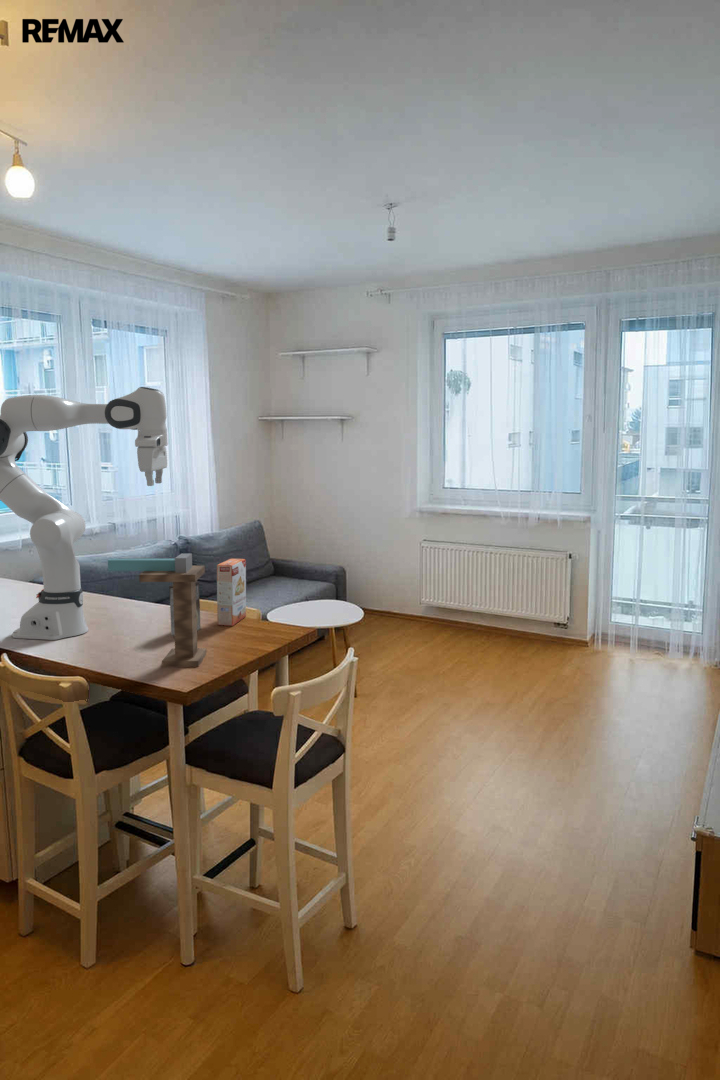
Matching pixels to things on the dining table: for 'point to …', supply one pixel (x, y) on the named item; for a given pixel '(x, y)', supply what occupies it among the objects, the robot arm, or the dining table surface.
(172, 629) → the coffee box
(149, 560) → the hammer
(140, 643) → the dining table surface
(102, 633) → the dining table surface
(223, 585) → the cracker box
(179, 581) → the stand
